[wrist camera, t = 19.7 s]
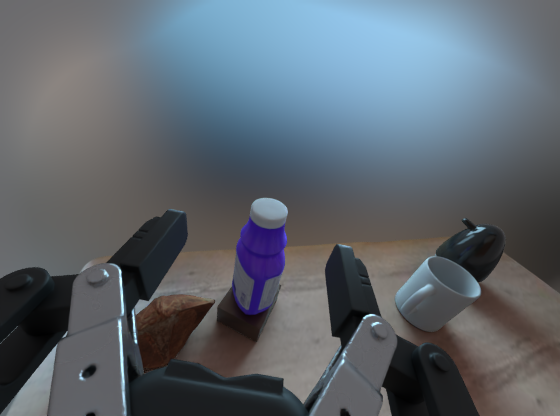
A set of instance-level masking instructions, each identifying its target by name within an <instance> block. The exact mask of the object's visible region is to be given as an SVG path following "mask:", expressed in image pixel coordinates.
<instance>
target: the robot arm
mask: <svg viewBox="0 0 560 416" xmlns="http://www.w3.org/2000/svg"><path fill="white" fill-rule="evenodd" d="M187 236H188V233H187V218H186V213H185V212H182V211H177V210H172V209H169V210H167V211H166V212H165V213H164V215H163V216H162V217H154V218H153V219H151V220H149V221H147V222H146V223H145V224H144V225H143V226H142V227H141V228H140V229H139V231H137V232H136V233H135V234H134V235H133V237H131V238H130V239H129V240H128V241H127V242H126V243H125V244H124V245H123V246H122V247H121V248H120V249H119V250H118V251H117V252H116V253H115V254H114V255H113V256H112V257H111V259H110V260H109V261H108V262H106V263H103V264H98V265H94V266H92V267H90V268H88V269H86V270H84V271H83V272H81V273H80V274H77V275H64V276H52V277H51V276H50V275H49V273H48V272H47V271H46V270H45V269H42V268H38V267H37V268H35V267H33V268H25V269H21V270H18V271H15V272H12V273H10V274H8V275H6V276H4V277H3V278H1V279H0V343H1V342H2V341H3V340H4V339H5V338H6V337H7V336H8V335H9V334H10V333H11V332H12V331H13V330H14V329H15V328H16V327H17V326H18V327H17V328H16V329H15V330H14V331H13V332H12V333H11V334H10V335H9V336H8V337H7V338H6V339H5V340H4V341H3V342H2V343H1V344H0V414H1V413H2V412H3V410H4V409H5V408H6V407H7V405H8V404H9V403H10V402H11V400H12V399H13V398H14V397H15V395H16V394H17V393H18V392H19V390H20V389H21V388H22V387H23V385H24V384H25V383H26V382H27V380H28V379H29V378H30V377H31V375H32V374H33V373H34V372H35V370H36V369H37V368H38V367H39V365H40V364H41V363H42V362H43V361H44V359H45V358H46V357H47V356H48V354H49V353H50V352H51V351H52V349H53V348H54V347H55V346H56V344H57V343H58V345H57V349H56V355H55V363H54V370H53V377H52V384H51V392H50V399H49V406H48V413H47V416H378V415H379V412H380V409H381V406H382V402H383V396H382V394H381V393H380V390H381V387H384V388H385V389H386V391H387V396H388V400H389V405H390V410H391V414H392V416H479V414H478V411H477V409H476V407H475V405H474V403H473V401H472V399H471V396H470V394H469V392H468V390H467V388H466V386H465V383H464V381H463V379H462V377H461V375H460V373H459V371H458V368H457V366H456V365H455V363H454V361H453V360H452V359H451V357H450V356H449V355H448V354H447V353H446V352H445V351H444V350H442V349H441V348H440V347H438V346H437V345H434V344H432V343H423V344H422V345H420V346H419V347H418V346H416V345H414V344H413V343H411V342H409V341H407V340H405V339H403V338H401V337H399V336H398V335H396V334H395V331H394V330H393V328H392V327H391V325H390V324H389V323H388V322H387V321H386V320H385V319H383V318H382V317H381V314H380V311H379V308H378V305H377V302H376V298H375V295H374V292H373V289H372V286H371V282H370V279H369V278H368V277H369V276H368V273H367V270H366V267H365V266H364V264H363V263H362V261H361V260H360V259H358V258H355V257H354V253H353V249H352V248H351V247H349V246H344V245H339V244H336V246H335V247H334V249H333V251H332V253H331V255H330V257H329V259H328V261H327V264H326V268H325V277H326V286H327V295H328V304H329V313H330V322H331V331H332V336H333V337H339V338H340V340H341V346H340V347H339V348H338V350H337V352H336V353H335V355H334V357H333V358H332V360H331V362H330V363H329V365H328V367H327V368H326V370H325V372H324V373H323V375H322V376H321V378H320V380H319V381H318V383H317V384H316V386H315V387H314V388H313V390H312V391H311V393H310V394H309V396H308V397H307V399H306V401H305V402H304V404H302V403H301V401H300V400H299V399H298V398H297V397H296V396H295V395H294V394H293V393H292V392H290V391H289V390H288V389H286V388H285V387H283V380H284V379H283V378H278V377H272V376H266V375H261V374H251V375H244V376H237V377H231V378H225V377H222V376H221V375H219V374H217V373H215V372H213V371H211V370H210V369H208V368H206V367H204V366H202V365H201V364H198V363H193V362H187V361H181V360H176V359H170V361H169V363H168V366H167V367H162V368H159V369H155V370H153V371H150V372H148V373H145V374H144V371H143V364H142V359H141V355H140V350H139V343H138V334H137V324H136V315H135V308H134V307H135V305H136V304H137V302H138V301H139V299H141V300H146V301H149V300H150V298H151V297H152V295H153V294H154V292H155V290H156V289H157V287H158V286H159V284H160V283H161V281H162V279H163V278H164V276H165V275H166V273H167V272H168V270H169V268H170V267H171V265H172V264H173V262H174V261H175V259H176V258H177V256H178V254H179V253H180V251H181V250H182V248H183V246H184V245H185V243H186V240H187ZM67 331H68V332H67ZM66 332H67V336H66V337H64V338H62V337H63V336H64V334H65V333H66ZM61 338H62V339H61Z"/></svg>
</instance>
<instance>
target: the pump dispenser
mask: <svg viewBox="0 0 560 416" xmlns="http://www.w3.org/2000/svg"><path fill="white" fill-rule="evenodd" d="M462 222H463V223H464V224H465V225H466V226H467V227H468V228H467V229H465V230H463V231H461V232H459V233H457V234H455V235H454V236H452V237H451V238H449V239H448V240H447V241H445V242H444V243H443V244H442V245H441V246H439V248H438V249H437V250H436V255H435V256H437V257H442V258H445V259H448V260H450V261H452V262H454V263H456V264H458V265H459V266H461V267H462V268H464V269H465V270H466V271H467V272H469V273H470V274H471V275H472V276H473V277H474V278H475V280H476V281H477V282H482V281H483V280H485V279H486V278H487V277H488V276H489V274H490V273H491V272H492V271H493V270H494V268H495V267H496V265H497V264H498V262H499V260H500V258H501V256H502V253H503V250H504V247H505V241H506V237H505V234H504V232H503V231H502V230H501V229H500V228H498V227H496V226H494V225H491V224H480V225H474V224H473V223H472V222H471V221H469V220H468V219H467V218H464V219H463V220H462Z"/></svg>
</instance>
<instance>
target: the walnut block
mask: <svg viewBox="0 0 560 416" xmlns="http://www.w3.org/2000/svg"><path fill="white" fill-rule="evenodd" d="M280 287H281V285H278V288H277V291H276V294H275V297H274V300H273V303H272V305H271V306H270V307H269V308H268V309H267V310H265V311H263V312H260V313H258V314H255V315H247V314H245V313H244V312H243V311H242V310H241V309H240V308H239V306H238V304H237V302H236V300H235V297H234V293H233V288H232V287H231V288H230V290H229V291H228V293H227V294H226V296H225V297H224V298H223V300H222V301H221V303H220V304H219V305H218V307H217V321H219V322H221V323H222V324H224V325H226V326H228V327H230V328H232V329H233V330H235V331H237V332H239V333H241V334H242V335H244V336H246V337H248V338H250V339H252V340H253V341H255V342H257V341H258V338H259V336H260V334H261V332H262V330H263V328H264V325H265V323H266V321H267V319H268V317H269V315H270V312H271V310H272V308H273V306H274V304H275V302H276V299H277V297H278V294H279V290H280Z"/></svg>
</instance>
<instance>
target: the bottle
mask: <svg viewBox="0 0 560 416" xmlns="http://www.w3.org/2000/svg"><path fill="white" fill-rule="evenodd" d="M287 213H288V211H287V208H286V207H285V205H284V204H283V203H281V202H280V201H277V200H275V199H271V198H261V199H258V200H256V201H254V203H253V204H252V206H251V212H250V218H249V221H248V223H247V224H246V225H245V226H244V227H243V228H242V230H241V238H240V239H239V241H238V243H237V248H236V259H235V267H234V275H233V281H232V288H233V293H234V297H235V300H236V302H237V304H238V306H239V308H240V309H241V310H242V311H243V312H244V313H245V314H247V315H255V314H258V313H260V312H263V311H265V310H267V309H268V308H269V307H270V306H271V305H272V303H273V300H274V297H275V294H276V291H277V288H278V285H279V281H280V278H281V275H282V272H283V269H284V266H285V256H284V248H285V246H286V244H287V237H286V234H285V232H284V227H285V222H286V217H287Z"/></svg>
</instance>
